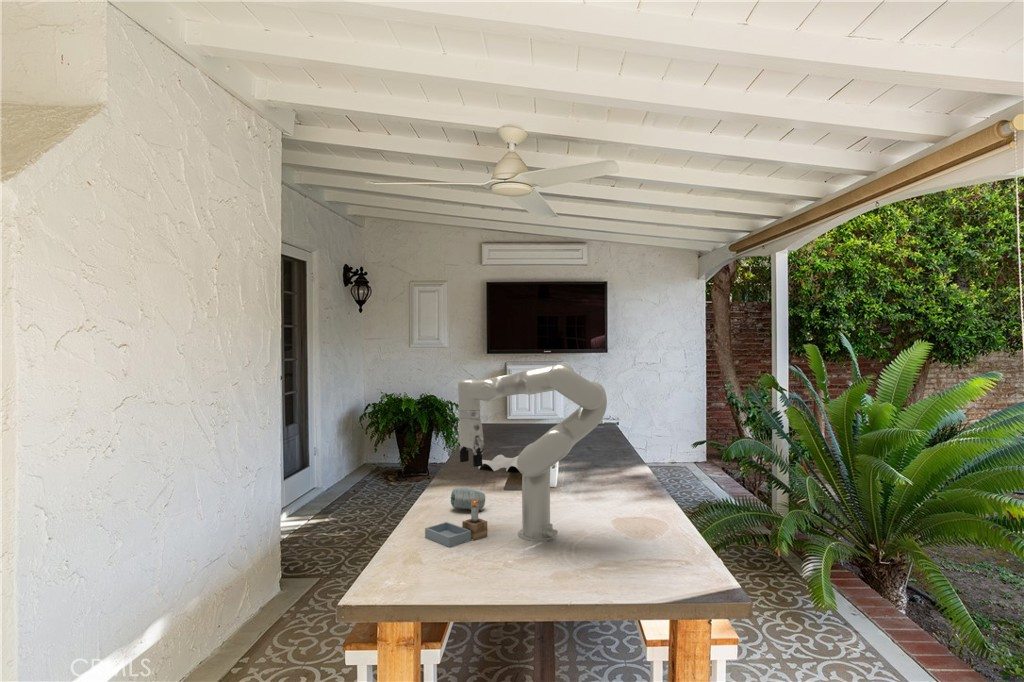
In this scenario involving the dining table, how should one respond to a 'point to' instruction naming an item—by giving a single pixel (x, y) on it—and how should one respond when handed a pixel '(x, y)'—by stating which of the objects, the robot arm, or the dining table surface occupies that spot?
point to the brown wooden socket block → (476, 528)
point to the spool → (467, 498)
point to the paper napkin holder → (501, 462)
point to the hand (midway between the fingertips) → (471, 463)
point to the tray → (448, 534)
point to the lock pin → (474, 511)
